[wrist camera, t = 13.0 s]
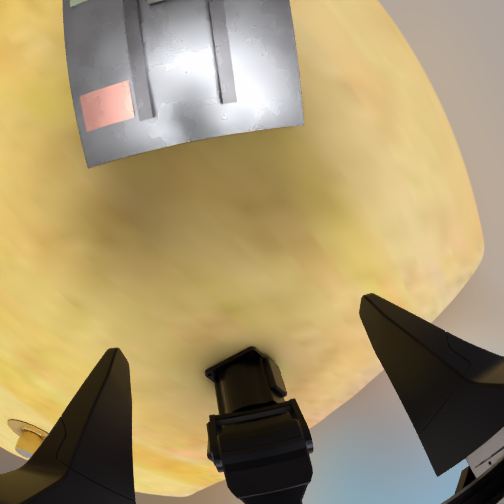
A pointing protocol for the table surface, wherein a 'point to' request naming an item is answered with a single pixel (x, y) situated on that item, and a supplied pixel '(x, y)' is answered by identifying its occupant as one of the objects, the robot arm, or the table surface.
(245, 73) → the box
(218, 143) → the table surface
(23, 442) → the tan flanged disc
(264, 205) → the table surface
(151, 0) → the handle
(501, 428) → the robot arm
